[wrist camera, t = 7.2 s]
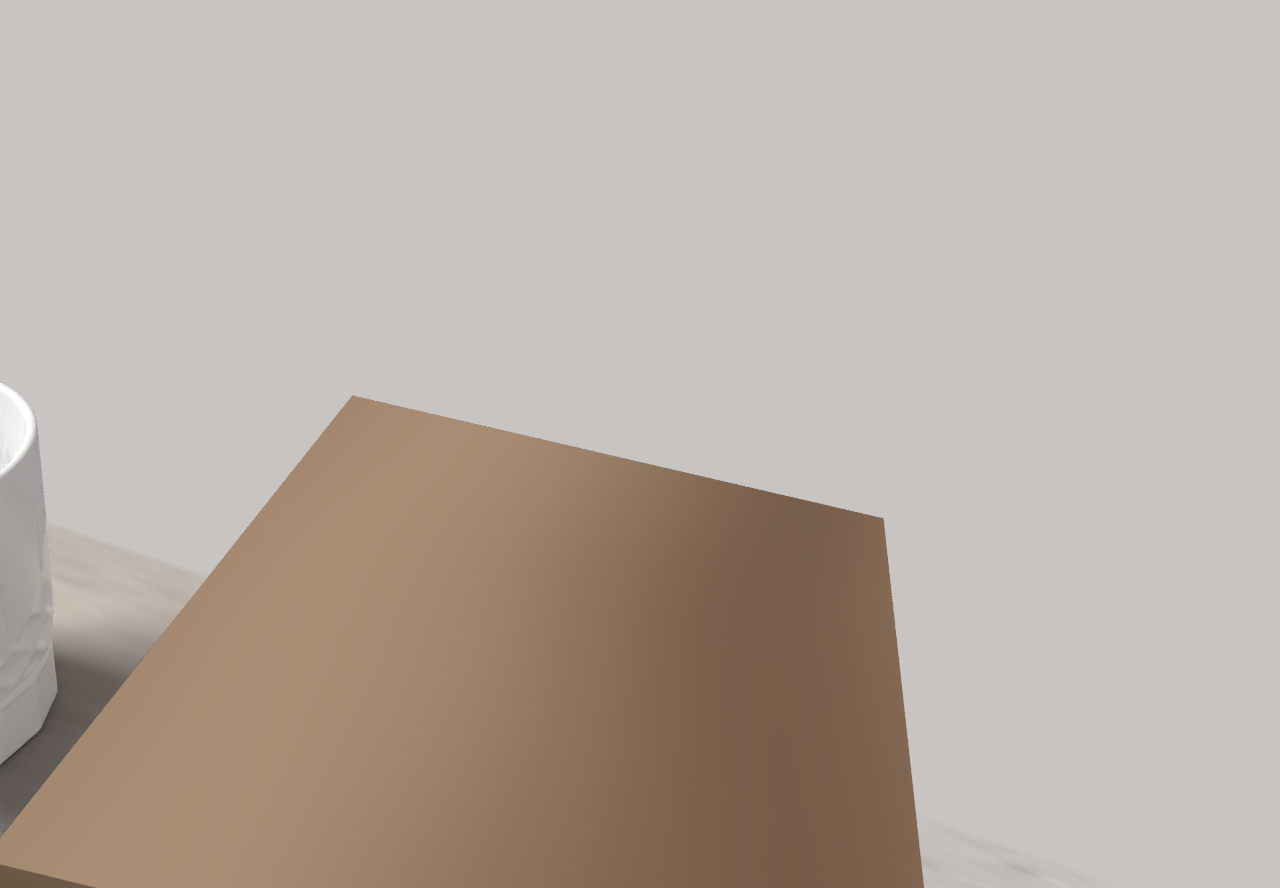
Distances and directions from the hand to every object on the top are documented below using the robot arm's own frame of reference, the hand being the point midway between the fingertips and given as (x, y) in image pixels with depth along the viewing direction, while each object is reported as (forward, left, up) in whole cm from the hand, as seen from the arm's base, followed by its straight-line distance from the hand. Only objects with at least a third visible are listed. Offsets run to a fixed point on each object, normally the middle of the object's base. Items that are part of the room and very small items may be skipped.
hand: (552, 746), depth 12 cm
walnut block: (0, -3, -6) cm, 6 cm away
